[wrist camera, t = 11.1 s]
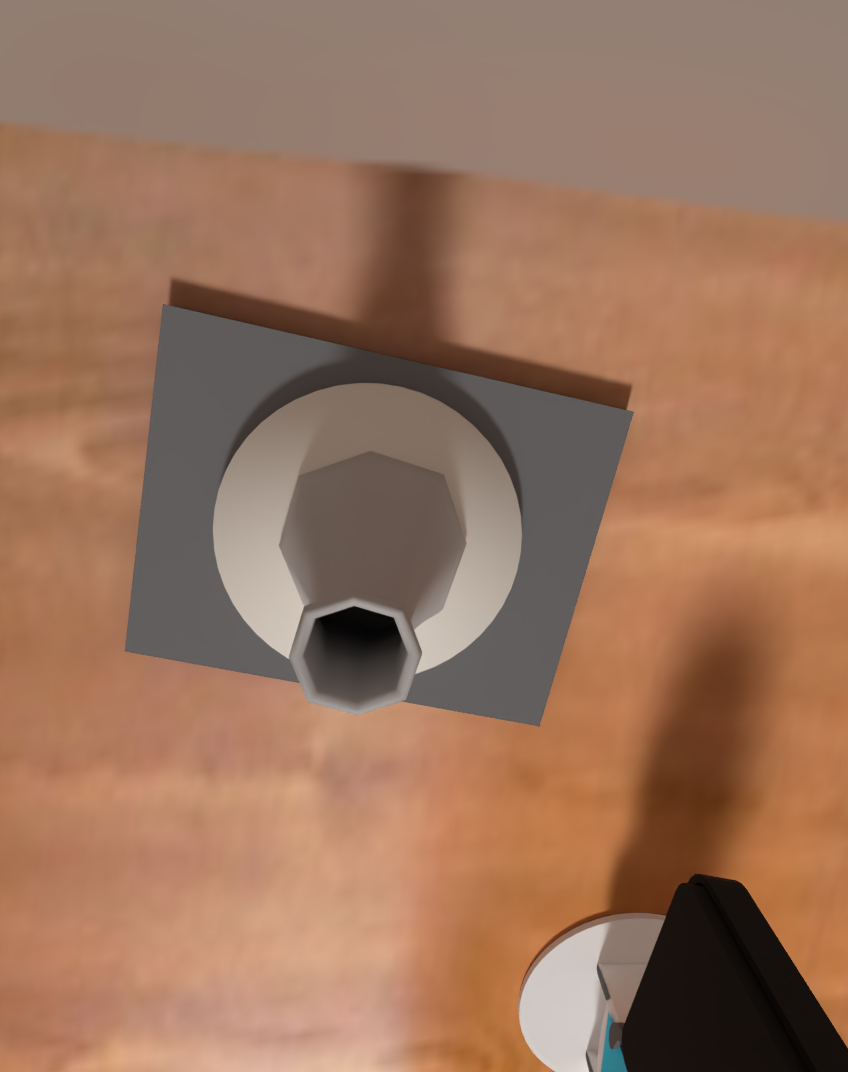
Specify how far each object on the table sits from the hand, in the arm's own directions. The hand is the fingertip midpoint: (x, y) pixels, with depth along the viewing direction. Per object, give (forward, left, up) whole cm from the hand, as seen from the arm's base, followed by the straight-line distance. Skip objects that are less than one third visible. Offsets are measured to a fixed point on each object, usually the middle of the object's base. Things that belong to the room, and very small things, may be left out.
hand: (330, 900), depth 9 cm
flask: (0, 0, -17) cm, 17 cm away
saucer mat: (0, 0, -19) cm, 19 cm away
